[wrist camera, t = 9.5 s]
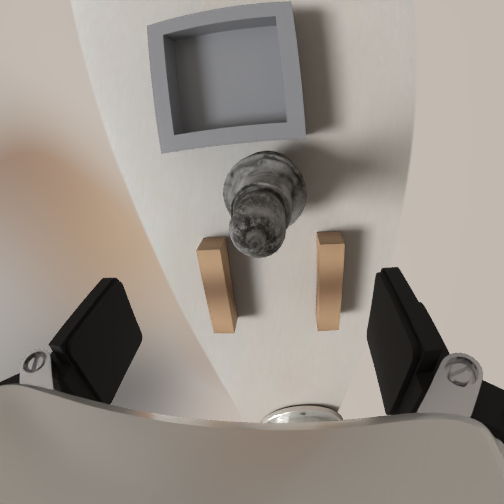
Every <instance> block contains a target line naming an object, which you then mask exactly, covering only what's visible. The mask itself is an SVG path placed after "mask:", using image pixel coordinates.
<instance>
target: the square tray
mask: <svg viewBox="0 0 504 504" xmlns="http://www.w3.org/2000/svg"><path fill="white" fill-rule="evenodd" d="M147 33H148V46H149V58H150V69H151V79H152V88H153V97H154V105H155V113H156V120H157V127H158V134H159V141H160V148H161V154H162V153H168V152H174V151H181V150H187V149H194V148H202V147H210V146H218V145H226V144H236V143H246V142H258V141H271V140H287V139H306V129H305V116H304V104H303V93H302V83H301V73H300V64H299V56H298V47H297V39H296V32H295V24H294V17H293V10H292V4H291V2H271V3H259V4H249V5H241V6H233V7H227V8H220V9H214V10H209V11H204V12H199V13H194V14H190V15H185V16H181V17H177V18H173V19H169V20H165V21H162V22H158V23H155V24H152V25H148V26H147Z"/></svg>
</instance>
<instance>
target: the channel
mask: <svg viewBox="0 0 504 504" xmlns="http://www.w3.org/2000/svg"><path fill="white" fill-rule="evenodd" d="M344 250H345V243H344V241H343V238H342V236H341V234H340V231H334V232H317V294H316V319H317V328H318V331H328V330H339V321H340V310H341V298H342V285H343V269H344ZM196 251H197V256H198V261H199V266H200V271H201V276H202V281H203V285H204V290H205V295H206V299H207V304H208V308H209V313H210V317H211V321H212V326H213V330H214V333H234V332H235V327H236V323H237V318H238V316H237V310H236V304H235V298H234V291H233V285H232V278H231V272H230V265H229V259H228V252H227V246H226V239H225V237H215V238H203V240H202V242H201V243H200V245H199V247H198V249H197V250H196Z"/></svg>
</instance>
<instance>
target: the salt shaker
mask: <svg viewBox="0 0 504 504" xmlns="http://www.w3.org/2000/svg"><path fill="white" fill-rule="evenodd" d="M223 196H224V201H225V206H226V208H227V210H228V212H229V214H230V215H231V221H230V224H229V233H230V237H231V240H232V242H233V244H234V246H235V247H236V248H237V249H238V250H239V251H240V252H242V253H243V254H245V255H248V256H250V257H256V258H261V257H267V256H269V255H272V254H273V253H275V252H276V251H277V250H278V249H279V248H280V247H281V245H282V243H283V241H284V239H285V233H286V229H287V228H288V226H290V225H291V224H293V223H294V222H295V221H296V220H297V218H298V217H299V216H300V215H301V213H302V211H303V209H304V206H305V202H306V196H307V194H306V185H305V182H304V180H303V177H302V175H301V173H300V172H299V171H298V169H297V168H296V167H295V165H293V164H292V162H291V161H290V160H289V159H287V158H286V157H285V156H283V155H281V154H278V153H276V152H269V151H264V152H257V153H255V154H253V155H250V156H248V157H246V158H244V159H242V160H241V161H239V162H238V163H237V164H236V165H234V166H233V168H232V169H231V171H230V172H229V173H228V175H227V178H226V180H225V183H224V191H223Z"/></svg>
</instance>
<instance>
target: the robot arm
mask: <svg viewBox="0 0 504 504" xmlns="http://www.w3.org/2000/svg"><path fill="white" fill-rule="evenodd" d="M141 341H142V333H141V331H140V328H139V326H138V323H137V321H136V318H135V316H134V313H133V311H132V308H131V306H130V303H129V300H128V298H127V295H126V292H125V289H124V287H123V284H122V283H121V282H119V280H118V279H117V278H103V279H102V280H101V281H100V282H99V283H98V284H97V285H96V286H95V288H94V289H93V290H92V291H91V292H90V293H89V295H88V296H87V297H86V298H85V299H84V300H83V302H82V303H81V304H80V305H79V306H78V308H77V309H76V310H75V311H74V313H73V314H72V315H71V316H70V318H69V319H68V320H67V321H66V323H65V324H64V325H63V326H62V328H61V329H60V330H59V332H58V333H57V334H56V335H55V337H54V338H53V340H52V341H51V342H50V343H49V346H50V347H51V349H52V351H53V352H52V353H51V354H50V353H49V352H48V350H46V349H36V350H33V351H32V352H30V353H29V354H27V355H26V356H25V357H24V359H23V360H22V362H21V365H20V373H19V374H17V375H15V376H13V377H10V378H8V379H6V380H4V381H2V382H0V504H504V390H503V389H500V388H498V387H496V386H494V385H492V384H490V383H488V382H486V381H483V380H482V378H483V372H482V368H481V366H480V364H479V363H478V361H476V360H475V359H474V358H473V357H471V356H469V355H467V354H463V353H453V354H449V352H448V350H447V348H446V346H445V344H444V342H443V340H442V338H441V336H440V334H439V332H438V331H437V329H436V327H435V325H434V323H433V321H432V319H431V317H430V315H429V314H428V312H427V310H426V308H425V307H424V305H423V304H422V303H421V302H418V300H417V298H416V297H415V295H414V293H413V291H412V289H411V288H410V286H409V284H408V283H407V281H406V280H405V278H404V276H403V274H402V273H401V271H400V269H399V268H398V267H392V268H382V269H381V272H379V273H377V274H376V277H375V285H374V292H373V299H372V305H371V311H370V317H369V323H368V328H367V341H368V345H369V348H370V352H371V356H372V359H373V363H374V367H375V371H376V375H377V379H378V383H379V387H380V391H381V395H382V399H383V404H384V408H385V412H386V414H387V415H389V416H379V417H371V418H362V419H352V420H343V418H342V417H341V415H340V414H339V413H337V412H336V411H334V410H332V409H329V408H325V407H320V406H294V407H288V408H284V409H281V410H278V411H275V412H273V413H271V414H270V415H268V416H267V417H265V419H264V420H263V421H262V423H247V422H227V421H212V420H202V419H193V418H184V417H176V416H168V415H162V414H156V413H150V412H144V411H138V410H133V409H128V408H123V407H118V406H113V405H110V404H111V402H112V400H113V398H114V396H115V394H116V392H117V390H118V388H119V386H120V384H121V382H122V380H123V378H124V375H125V374H126V372H127V370H128V367H129V366H130V364H131V361H132V360H133V358H134V356H135V353H136V352H137V350H138V348H139V346H140V344H141Z"/></svg>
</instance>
